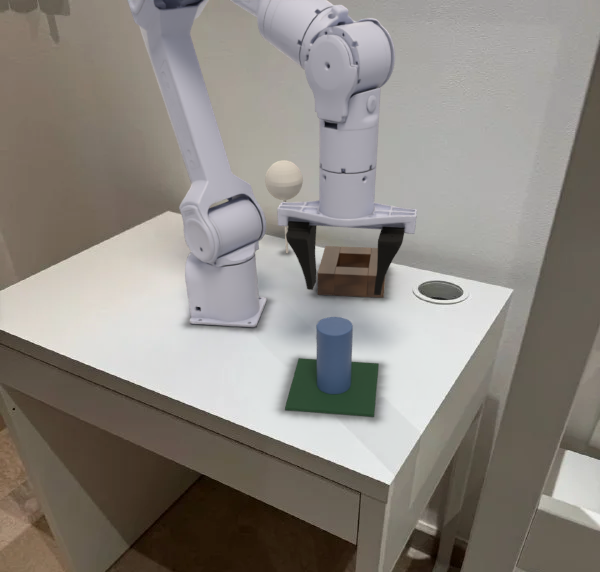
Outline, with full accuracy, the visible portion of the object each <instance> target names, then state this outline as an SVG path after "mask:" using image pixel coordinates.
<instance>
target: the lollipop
mask: <svg viewBox="0 0 600 572" xmlns="http://www.w3.org/2000/svg"><path fill="white" fill-rule="evenodd" d="M303 182H304V179H303V173H302V171H301V169H300V168H299V167H298V165H297V164H295V163H294V162H293V161H290V160H286V159H285V160H284V159H282V160H278V161H276V162H273V163H272V164H271V165H270V166H269V167H268V169H267V171H266V173H265V175H264V183H265V187H266V189H267V191H268V193H269V194H270V195H271V197H273V198H274V199H276V200H280V201H282V202H287V201H289V200H291V199H294V198H295V197H296V196H297V195H298V194H299V193H300V192H301V189H302V187H303ZM287 232H288V226H284V244H285V246H284V247H285V248H284V249H285V254H289V243H288V242H287V238H286V233H287Z"/></svg>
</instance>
